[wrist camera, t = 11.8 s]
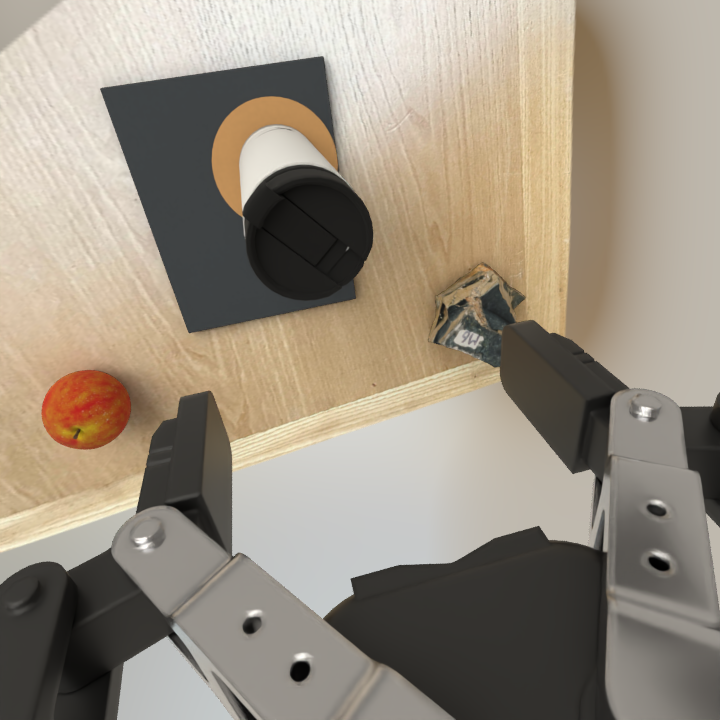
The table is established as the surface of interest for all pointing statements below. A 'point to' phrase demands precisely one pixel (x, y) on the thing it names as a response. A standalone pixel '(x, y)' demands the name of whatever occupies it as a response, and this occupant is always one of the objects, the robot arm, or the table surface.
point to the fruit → (86, 409)
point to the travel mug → (299, 216)
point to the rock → (475, 314)
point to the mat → (215, 176)
